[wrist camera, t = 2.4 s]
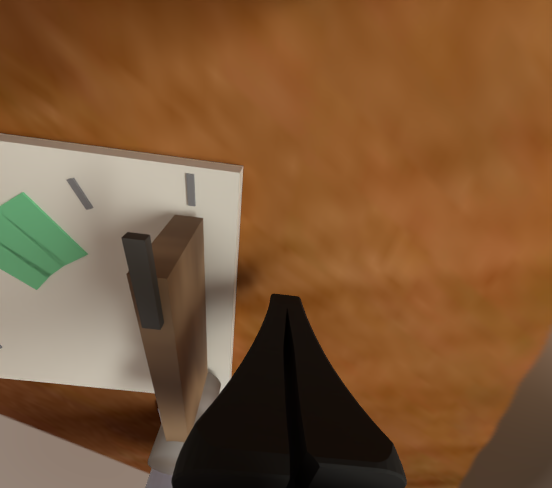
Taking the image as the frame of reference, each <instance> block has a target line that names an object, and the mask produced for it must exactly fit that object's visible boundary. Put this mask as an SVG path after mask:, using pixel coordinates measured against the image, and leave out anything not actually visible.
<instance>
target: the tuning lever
mask: <svg viewBox="0 0 552 488" xmlns="http://www.w3.org/2000/svg"><path fill="white" fill-rule="evenodd" d="M121 239H122V243H123V247H124V252H125V256H126V260H127V265H128V269H129V271H128V273H127V274H126V275H127V279H128V283H129V288H130V292H131V296H132V300H133V304H134V309H135V313H136V317H137V321H138V325H139V329H140V334H141V338H142V342H143V346H144V350H145V354H146V359H147V363H148V367H149V371H150V375H151V379H152V384H153V388H154V392H155V396H156V400H157V405H158V409H159V413H160V417H161V421H162V423H161V426H160V429H159V432H158V434H157V437H156V440H155V443H154V446H153V448H152V451H151V454H150V457H149V459H148V465H149V466H150V467H151V468H153V469H154V470H156V471H158V472H161V473H164V474H168V475H173V472H174V468H175V464H176V461H177V458H178V456H179V453H180V451H181V448H182V446H183V444H184V442H185V441H186V439H187V437H188V435H189V433H190V432H191V430H192V428H193V426H194V425H195V423H196V421H197V420H198V419H199V418H200V417H201V416H202V414H203V413H204V412H205V411H206V410H207V409H208V407H209V406H210V405H211V404H212V403H213V401H214V400H215V399H216V398H217V396H218V395H219V392H220V388H221V383H220V381H219V379H218V378H217V377H215V376H214V375H212V374H210V373H208V366H207V332H206V299H205V265H204V231H203V218H199V217H191V216H183V215H174V216H173V217H172V219H171V220H170V221H169V222H168V224H167V225H166V226H165V227H164V228H163V230H162V231H161V232H160V233H159V235H158V236H157V237H156V238H155V239H154V241H153V242H152V243H151V237H150V235H149V234H140V233H132V232H127V233H126V234H125V235H124V236H123V237H121Z"/></svg>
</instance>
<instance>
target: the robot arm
mask: <svg viewBox="0 0 552 488" xmlns="http://www.w3.org/2000/svg"><path fill="white" fill-rule="evenodd" d="M158 411H159V409H158ZM159 415H160V413H159ZM160 419H161V417H160ZM161 423H162V421H161ZM406 484H407V483H406V477H405V473H404V470H403V467H402V464H401V461H400V459H399V456H398V454H397V451H396V449H395V447H394V444H393V443H392V442H391V441H390V439H389V438H388V437H387V436H386V435H385V434H384V433H383V432H382V431H381V430H380V429H379V427H378V426H377V425H376V424H375V423H374V422H373V421H372V419H371V418H370V417H369V416H368V415H367V413H366V412H365V411H364V410H363V409H362V407H361V406H360V405H359V404H358V402H357V401H356V400H355V398H354V397H353V396H352V394H351V393H350V392H349V390H348V389H347V388H346V386H345V385H344V384H343V382H342V381H341V379H340V378H339V376H338V375H337V373H336V372H335V370H334V369H333V367H332V365H331V364H330V362H329V360H328V359H327V357H326V355H325V354H324V352H323V350H322V348H321V346H320V344H319V342H318V340H317V338H316V336H315V334H314V332H313V330H312V328H311V326H310V323H309V321H308V319H307V316H306V314H305V311H304V308H303V305H302V302H301V299H300V298H299V297H298V296H289V295H281V294H272V295H271V298H270V304H269V308H268V311H267V314H266V317H265V319H264V321H263V324H262V326H261V328H260V331H259V332H258V334H257V336H256V338H255V340H254V342H253V344H252V346H251V348H250V350H249V351H248V353H247V355H246V356H245V358H244V360H243V361H242V363H241V364H240V366H239V367H238V369H237V370H236V372H235V373H234V375H233V376H232V378H231V379H230V381H229V382H228V383H227V385H226V386H225V387H224V388H223V390H222V391H221V392H220V394H219V395H218V396H217V398H216V399H215V400H214V401H213V403H212V404H211V405H210V406H209V407H208V409H207V410H206V411H205V412H204V413H203V414H202V416H201V417H200V418H199V419H198V420H197V421H196V423H195V425H194V426H193V428H192V430H191V432H190V433H189V435H188V437H187V439H186V441H185V442H184V444H183V446H182V448H181V451H180V453H179V456H178V458H177V461H176V464H175V468H174V472H173V475H168V474H164V473H161V472H158V471H156V470H154V469H153V468H152V469H151V472H150V475H149V478H148V481H147V484H146V487H145V488H405V486H406Z"/></svg>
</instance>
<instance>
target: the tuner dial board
mask: <svg viewBox="0 0 552 488" xmlns="http://www.w3.org/2000/svg"><path fill="white" fill-rule="evenodd" d="M242 179H243V166H240V165H233V164H225V163H218V162H210V161H203V160H196V159H188V158H181V157H173V156H166V155H158V154H151V153H143V152H136V151H129V150H121V149H114V148H106V147H99V146H91V145H84V144H77V143H69V142H62V141H54V140H47V139H39V138H32V137H25V136H17V135H10V134H2V133H0V378H6V379H16V380H26V381H36V382H47V383H57V384H67V385H77V386H87V387H98V388H108V389H118V390H128V391H138V392H148V393H155V392H154V388H153V384H152V379H151V375H150V371H149V367H148V363H147V359H146V354H145V350H144V346H143V342H142V338H141V334H140V329H139V325H138V321H137V317H136V313H135V309H134V304H133V300H132V296H131V292H130V288H129V283H128V279H127V275H126V274H127V273H128V271H129V269H128V265H127V260H126V256H125V252H124V247H123V243H122V239H121V237H123V236H124V235H125V234H126V233H127V232H132V233H140V234H149V235H150V237H151V243H152V242H153V241H154V239H155V238H156V237H157V236H158V235H159V233H160V232H161V231H162V230H163V228H164V227H165V226H166V225H167V224H168V222H169V221H170V220H171V219H172V217H173V216H174V215H183V216H191V217H199V218H203V231H204V265H205V299H206V332H207V366H208V373H210V374H212V375H214V376H215V377H217V378H218V379H219V381H220V383H221V388H220V392H221V391H222V390H223V388H224V387H225V386H226V385H227V383H228V382H229V381H230V379H231V372H232V355H233V337H234V320H235V302H236V284H237V267H238V249H239V232H240V214H241V197H242ZM220 392H219V394H220Z"/></svg>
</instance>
